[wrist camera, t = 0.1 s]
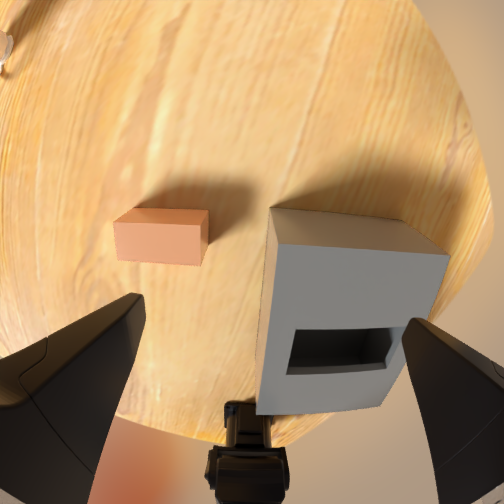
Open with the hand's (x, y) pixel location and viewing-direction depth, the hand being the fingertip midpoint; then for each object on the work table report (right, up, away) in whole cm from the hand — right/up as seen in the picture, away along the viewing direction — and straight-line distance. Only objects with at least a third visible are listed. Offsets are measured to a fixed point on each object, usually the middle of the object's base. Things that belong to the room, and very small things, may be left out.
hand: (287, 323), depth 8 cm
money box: (+6, -2, +17) cm, 18 cm away
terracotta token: (-8, +4, +14) cm, 17 cm away
